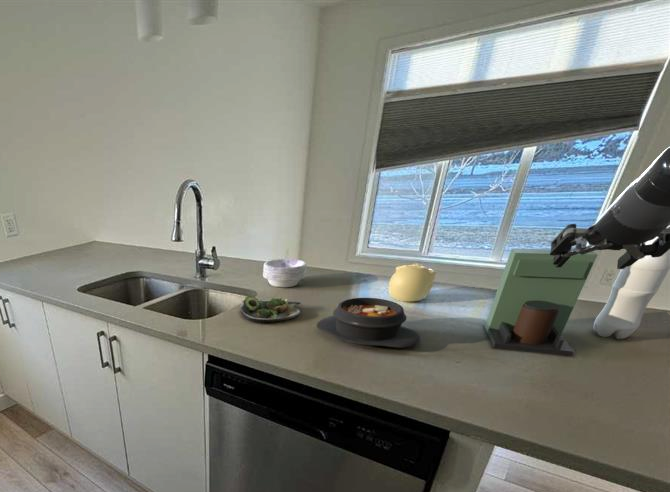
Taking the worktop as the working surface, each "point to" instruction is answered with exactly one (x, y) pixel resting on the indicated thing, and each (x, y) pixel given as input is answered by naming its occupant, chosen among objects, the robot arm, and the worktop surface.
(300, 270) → the paper bowls
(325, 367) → the worktop surface
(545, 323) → the brown cylinder canister
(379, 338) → the casserole
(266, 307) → the salad plate
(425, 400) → the worktop surface
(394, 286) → the pale yellow rounded lump
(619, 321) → the water bottle
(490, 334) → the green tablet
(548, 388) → the worktop surface
